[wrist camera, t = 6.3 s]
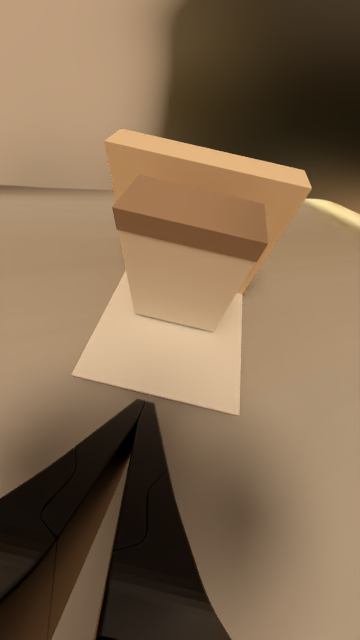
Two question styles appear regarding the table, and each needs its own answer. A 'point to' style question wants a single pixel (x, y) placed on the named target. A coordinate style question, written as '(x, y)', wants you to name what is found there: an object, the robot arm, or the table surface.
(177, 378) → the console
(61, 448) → the table surface
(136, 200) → the brown topped beige block
